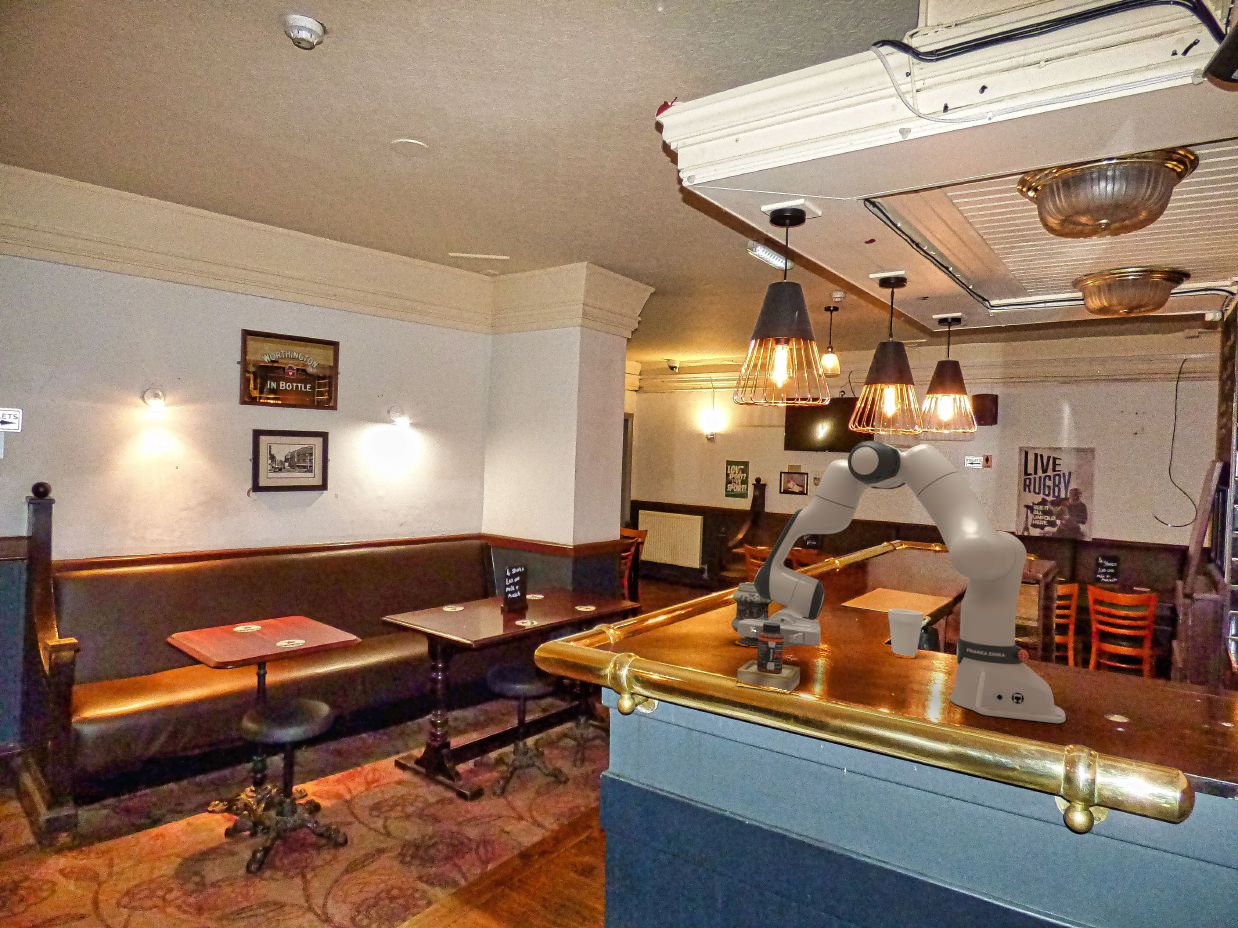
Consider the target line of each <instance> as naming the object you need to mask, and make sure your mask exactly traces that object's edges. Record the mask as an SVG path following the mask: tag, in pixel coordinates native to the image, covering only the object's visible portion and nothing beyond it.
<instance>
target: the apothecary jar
mask: <svg viewBox="0 0 1238 928" xmlns="http://www.w3.org/2000/svg"><path fill="white" fill-rule="evenodd" d="M732 597H733V601H735V602H736V616H735V618H733V620H732V621H731V627H732V629H733V630H734V632H736V633H738V622H739V621H741V620H745V619H757V620H765V621H768V620H769V608H770V607H769V605H770V604H772V602H773V601H771V600H768V599H765V598H762V597H760V596H759V594H758V593H757V591H756V589H755V586H754V582H751V583H750V582H740V583H739V584H738V588H737V590H735V591H734V593H733V594H732ZM737 640H738V642H739V643H741V644H745V645H748V646H758V638H751V637H741V638H739V639H737Z"/></svg>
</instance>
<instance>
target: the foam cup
mask: <svg viewBox="0 0 1238 928" xmlns="http://www.w3.org/2000/svg"><path fill="white" fill-rule="evenodd" d="M887 610H888V611H887V612H888V613H887V614H888V615H887V618H888V624H889V631H890V643H891V644H890V645H891V652H892V651H893V652H894V653H896V654H900V655H904V656H915V655H916V654H917V653H918V648H919V643H920V637H921V630H922V625H923V622H924V613H923V612H922V611H919V610H914V609H905V608H889V609H887ZM916 656H917V655H916Z"/></svg>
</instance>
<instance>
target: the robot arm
mask: <svg viewBox="0 0 1238 928" xmlns="http://www.w3.org/2000/svg"><path fill="white" fill-rule="evenodd" d="M905 485H907V487H909V489H910V490H911V492H912V493H913V494H914V496H915V497H916V498H917V500H918V501H919V503H920V504H921V505H922V506H923V508H924V509H925V511H926V513H927V514H928V516H929V517H930V519H932V521H933V522H934V524H935V526H936V528H937V529H938V531H939V533H940V535H941V538H942V540H943V542H944V544H945V547H946V549H947V551H948V552H949V558H950V563H951V565H952V567H953V568H954V570H955V571H957V573H958V574H960V575H961V576H963V577H966V578H967V579H968V583H967V586H966V590H965V593H964V597H963V598H962V600H961V604H960V620H959V621H960V624H959V628H960V629H959V637H958V638H957V643H956V662H957V670H956V676H955V681H954V684H953V689H952V693H951V694H950V697H949V700H950V701H951V702H952V703H953V704H955V705H957V706H960V707H963V708H965V709H969V710H971V711H974V712H976V713H978V714H980V715H983V716H990V717H991V716H992V717H997V718H999V717H1000V718H1008V719H1015V720H1016V719H1017V720H1025V721H1036V722H1041V723H1042V722H1044V723H1053V724H1062V723H1064V722H1065V721H1066V718H1067V717H1066V712H1065V711H1064V710H1063V709H1062V708H1061V707H1059V706H1058V705H1055V701H1054V700H1055V699H1054V695H1053V690H1052V689H1051V687H1050V685H1049V684H1048V682H1047V681H1046V680H1044V679H1043V678H1042V677H1041V676H1040V675H1039V674H1037V673H1036V672H1035V671H1034V670H1033V669H1032V668H1030V667H1029V666H1028V665H1027V664H1026V663H1025V661H1027V660H1029V657H1030V656H1029V653H1028V651H1027V650H1025V649H1024V648H1022V647H1021V646H1019V645H1017V644H1016V619H1017V618H1016V615H1017V605H1018V599H1019V595H1020V590H1021V586H1022V581H1023V580H1022V579H1023V572H1024V566H1025V564H1026V561H1027V558H1028V554H1027V549H1026V546H1025V545H1024V544H1023V542H1022V541H1021V539H1019V538H1018V537H1016V536H1015V535H1013V534H1011V533H1010V532H1007V531H1002V530H996V529H995V528H994V527H993V525H992V524H991V522H990V520H989V519H988V517H987V515H986V513H985V511H984V509H983V506H982V504H981V499H980V498H979V497H978V496H977V494H976V493H975V492H974V490H973V489H972V487H970V485H969V484H968V482H967V481H966V480H965V479H964V477H963V476H962V475H961V473H960V472H959V471H958V470H957V468H956V467H955V466H954V465H953V463H951V461H950V460H949V459H948V458H947V457H946V456H945V455H944V454H943V453H942V452H941V451H939V450H938V449H937V448H936V447H935V446H934V445H931V444H928V443H922V444H916V445H915V446H912V447H911V448H909V449H906V450H905V451H903V450H901V449H900V448H897V447H895V446H893V445H891V444H890V443H889V444H888V443H884V442H880V441H876V440H867V441H866V440H865V441H862V442H859V443H858V444H856V445H855V446H854V447H853V448H852V449H851V451H850V452H849V454H848V457H847V459H835V460H833V461H831V462H830V464H829V465H827V467H826V469H825V471H824V473H823V475H822V477H821V479H820V481H819V483H818V485H817V488H816V490H815V492H814V495H813V498H812V500H811V501H810V502H809V504H807V506H806V507H804V508H801V509H797V510H796V511H794V513H793V515H792V516H791V517H790V519H789V520H788V522H787V523H786V525H785V526H784V528H783V530H782V532H781V533H780V535H779V537H778V539H777V540H776V542H775V544H774V546H773V547H772V549H771V551H770V552H769V555H768V556H767V558H766V560H765V561H764V563H763V564H762V566H760V568H759V569H758V570H757V573H756V574H755V577H754V582H753V583H754V586H755V589H756V591H757V593H758V594H759V596H760V597H762V598H765V599H768V600H771V601H772V602H775V603H777V604H780V605H782V606H785V607H784V608H782V609H780V610H778V611H776V612H775V613H773V614H772V615H771V616H769V617H768V621H765V620H757V619H745V620H741V621H739V622H738V632H737V635H738V636H740V637H743V638H745V637H751V638H758V636H759V633H760V632H761V631H763V623H764V622H772V623H778V624H780V632H781V633H782V634H783V636H784V644H783V648H787V647H791V646H792V647H796V646H808V647H820V645H821V637H822V635H821V630H822V627H821V625H820V620H818V617H819V615H820V614H821V612H822V609H823V606H824V603H825V601H826V591H825V588H824V585H823V583H822V582H821V580H819V579H816V578H813V576H809V575H807V574H804V573H801V572H799V571H796V570H793V569H791V568H789V567H786V566H785V565H784V562H785V560H786V558H787V557H788V555H789V554H790V552H791V549H792V548H793V546H794V544H795V543H796V541H797V540H798V539H799V538H800V537H801V536H805V535H829V534H836V533H839V532H842V531H844V530H845V529H846V528H848V527H849V526H850V524H851V522H852V520H853V518H854V516H855V513H856V511H857V508H858V504H859V502H860V499H861V498H862V495H863V493H864V492H865V491H866V490H867V489H869V488H871V489H875V490H877V489H879V490H895V489H898V488H899V489H900V488H901V487H903V486H905Z"/></svg>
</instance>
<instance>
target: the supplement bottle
mask: <svg viewBox="0 0 1238 928" xmlns="http://www.w3.org/2000/svg"><path fill="white" fill-rule="evenodd" d="M783 644H784V636H783V634H782V633H781V632H780V624H778V623H772V622H764V623H763V631H761V632H760V633H759V636H758V648H757V657H756V661H757V670H758V671H760V672H763V673H770V674H779V673H781V672H782V665H783V661H784V660H783V659H784V647H783Z"/></svg>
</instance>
